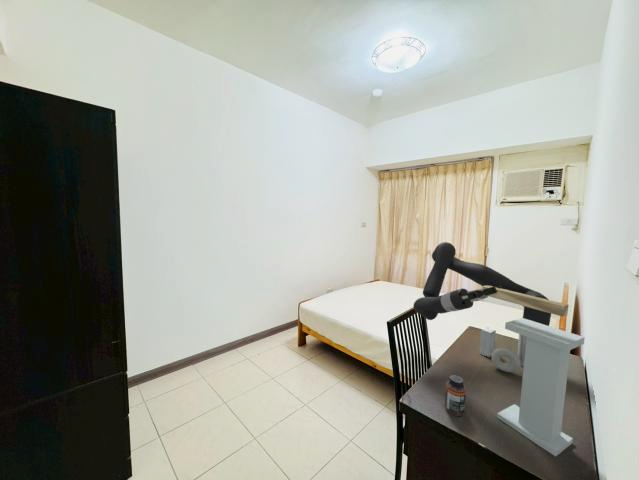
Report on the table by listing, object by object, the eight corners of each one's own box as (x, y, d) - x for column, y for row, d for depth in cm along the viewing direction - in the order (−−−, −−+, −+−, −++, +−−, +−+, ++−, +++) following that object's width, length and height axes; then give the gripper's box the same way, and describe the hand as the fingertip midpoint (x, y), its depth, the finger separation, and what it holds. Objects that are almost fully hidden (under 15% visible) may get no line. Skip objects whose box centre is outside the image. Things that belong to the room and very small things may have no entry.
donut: (489, 368, 110) (491, 346, 110) (490, 365, 113) (492, 343, 112) (518, 377, 104) (521, 354, 103) (519, 374, 107) (521, 351, 106)
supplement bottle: (448, 401, 89) (450, 370, 88) (466, 410, 85) (469, 378, 84) (441, 409, 85) (444, 378, 84) (461, 420, 81) (463, 386, 80)
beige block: (487, 293, 91) (487, 285, 91) (567, 315, 72) (568, 304, 71) (481, 294, 90) (482, 286, 90) (562, 316, 70) (563, 306, 70)
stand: (513, 408, 87) (522, 317, 84) (572, 443, 74) (584, 337, 71) (497, 417, 82) (505, 322, 80) (555, 456, 69) (568, 344, 66)
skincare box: (488, 357, 119) (491, 333, 118) (478, 353, 123) (480, 329, 122) (494, 354, 123) (496, 330, 122) (484, 350, 126) (486, 326, 126)
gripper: (440, 293, 99) (481, 280, 84) (463, 289, 105) (505, 276, 91) (448, 312, 96) (491, 302, 82) (471, 307, 102) (515, 297, 88)
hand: (498, 289), depth 86 cm, fingers closed on beige block, 3 cm apart
